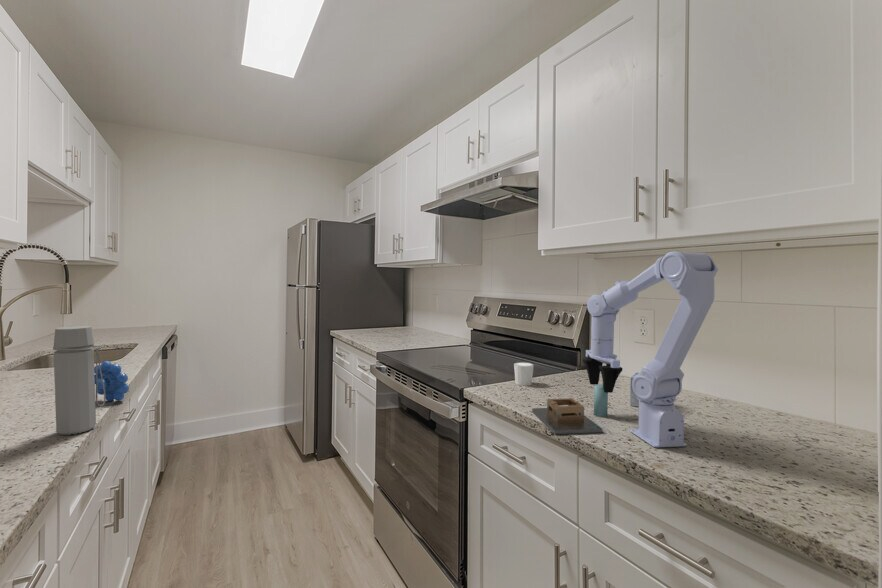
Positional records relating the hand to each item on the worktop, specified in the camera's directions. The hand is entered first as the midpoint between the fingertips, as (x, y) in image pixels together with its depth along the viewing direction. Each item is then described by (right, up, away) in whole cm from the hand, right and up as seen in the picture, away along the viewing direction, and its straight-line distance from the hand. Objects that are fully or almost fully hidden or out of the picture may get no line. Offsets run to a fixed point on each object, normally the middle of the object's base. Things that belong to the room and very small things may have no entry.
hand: (600, 388), depth 108 cm
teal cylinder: (0, -8, 0) cm, 8 cm away
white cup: (-15, -6, +32) cm, 36 cm away
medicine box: (+16, -7, +10) cm, 20 cm away
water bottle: (-131, -7, -12) cm, 132 cm away
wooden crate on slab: (-11, -8, -5) cm, 15 cm away
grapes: (-143, -6, +9) cm, 143 cm away
